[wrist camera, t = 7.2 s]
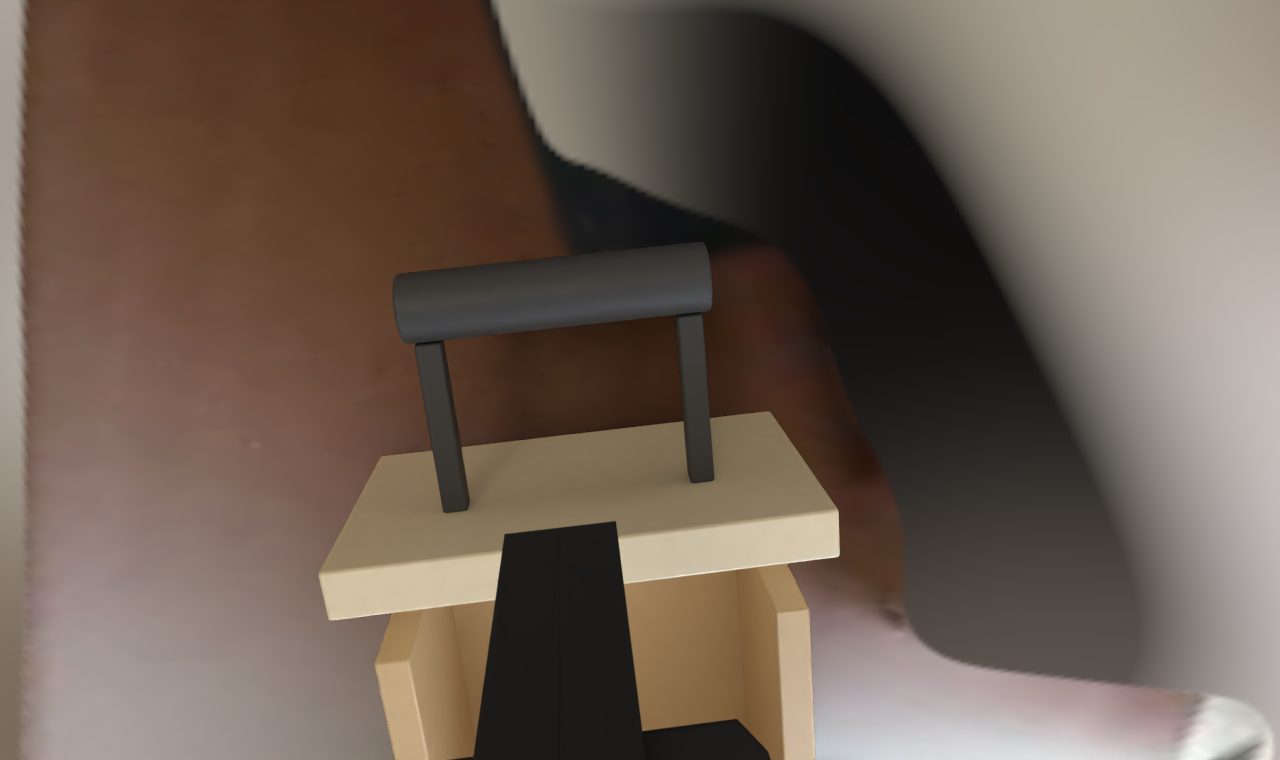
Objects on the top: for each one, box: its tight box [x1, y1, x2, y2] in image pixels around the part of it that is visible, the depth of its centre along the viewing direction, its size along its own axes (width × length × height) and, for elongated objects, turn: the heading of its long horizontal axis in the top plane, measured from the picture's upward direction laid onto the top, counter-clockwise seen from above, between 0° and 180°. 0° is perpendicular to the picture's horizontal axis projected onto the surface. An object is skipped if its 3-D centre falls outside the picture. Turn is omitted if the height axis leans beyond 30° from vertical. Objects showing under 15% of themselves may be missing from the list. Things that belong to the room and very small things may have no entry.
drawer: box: [318, 242, 840, 760], centre depth 23 cm, size 19×11×7 cm, turn 5°
